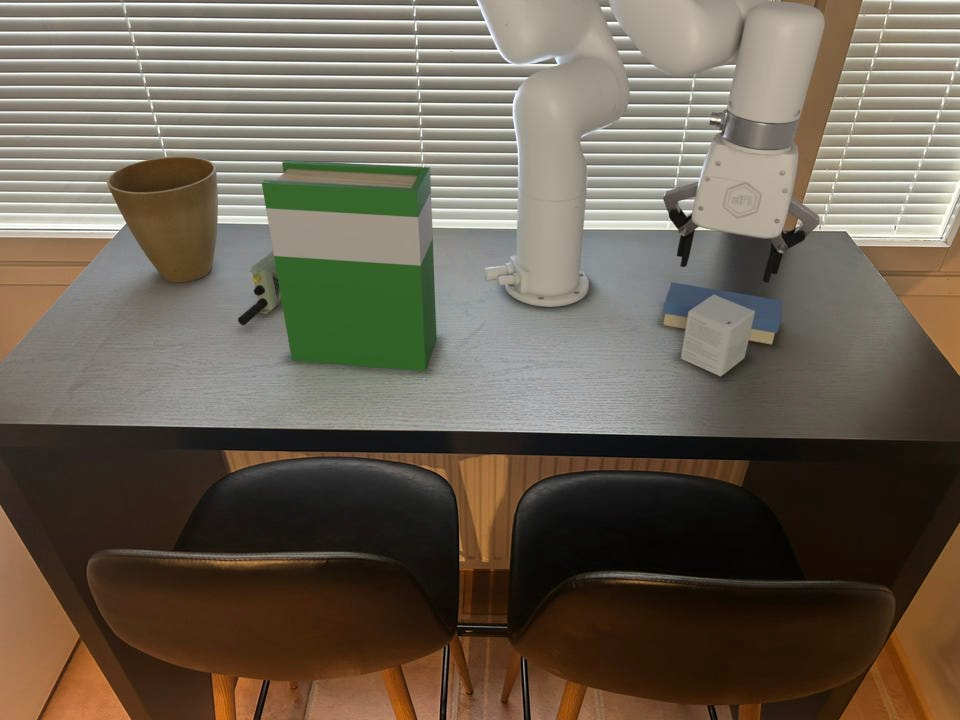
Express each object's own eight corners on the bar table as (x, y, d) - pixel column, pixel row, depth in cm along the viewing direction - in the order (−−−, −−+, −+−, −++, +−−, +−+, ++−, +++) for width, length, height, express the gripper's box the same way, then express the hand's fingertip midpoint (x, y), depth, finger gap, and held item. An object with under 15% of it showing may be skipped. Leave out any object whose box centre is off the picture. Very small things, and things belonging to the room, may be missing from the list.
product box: (745, 359, 98) (757, 310, 94) (720, 378, 95) (731, 329, 91) (704, 340, 102) (713, 293, 98) (678, 358, 98) (687, 310, 94)
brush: (660, 325, 105) (664, 302, 103) (667, 305, 110) (671, 281, 108) (774, 346, 101) (780, 321, 99) (776, 323, 105) (782, 300, 103)
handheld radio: (339, 253, 123) (254, 331, 104) (321, 251, 124) (233, 328, 105) (333, 215, 119) (244, 288, 100) (315, 213, 120) (222, 285, 101)
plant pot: (248, 251, 124) (230, 156, 115) (214, 297, 112) (191, 194, 102) (160, 248, 125) (135, 153, 116) (117, 292, 113) (85, 190, 103)
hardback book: (291, 360, 98) (261, 183, 84) (310, 330, 104) (284, 160, 90) (425, 371, 96) (416, 191, 82) (436, 339, 102) (430, 167, 88)
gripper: (672, 129, 81) (647, 270, 91) (845, 153, 76) (799, 298, 86) (682, 109, 87) (658, 243, 97) (843, 130, 82) (800, 269, 92)
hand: (724, 269), depth 92 cm, fingers open, 9 cm apart
